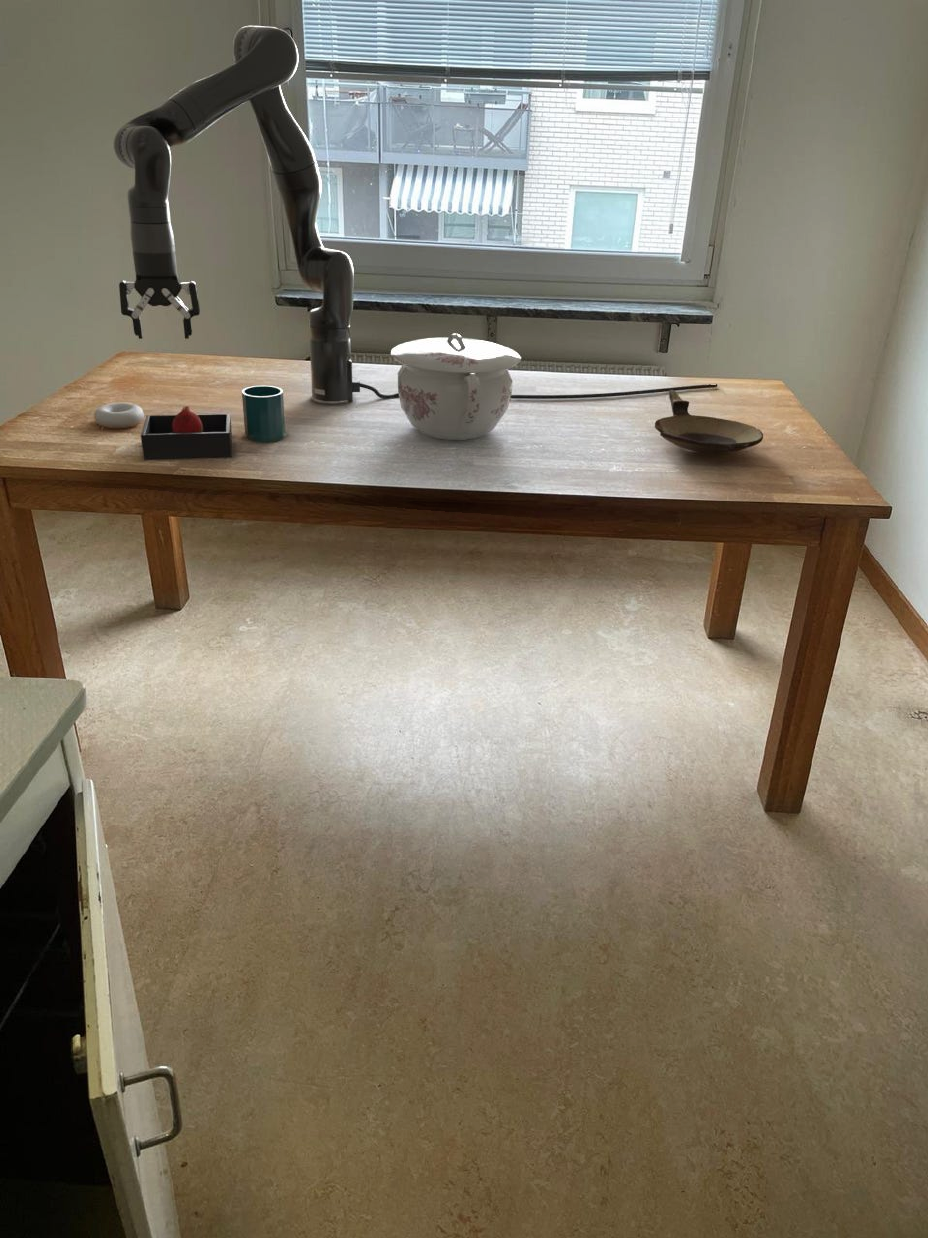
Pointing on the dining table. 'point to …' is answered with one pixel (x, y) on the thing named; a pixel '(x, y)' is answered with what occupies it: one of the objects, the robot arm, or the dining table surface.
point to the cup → (263, 413)
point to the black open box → (187, 438)
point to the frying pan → (705, 430)
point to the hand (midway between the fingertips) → (164, 337)
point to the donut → (119, 415)
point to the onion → (187, 422)
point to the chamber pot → (454, 385)
